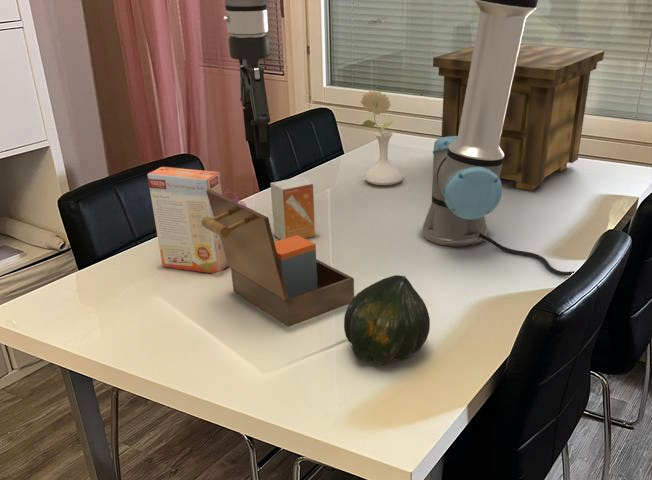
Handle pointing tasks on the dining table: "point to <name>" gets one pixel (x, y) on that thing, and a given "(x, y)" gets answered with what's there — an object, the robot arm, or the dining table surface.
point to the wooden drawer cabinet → (529, 107)
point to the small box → (293, 208)
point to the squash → (387, 321)
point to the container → (297, 265)
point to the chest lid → (246, 242)
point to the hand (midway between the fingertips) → (257, 148)
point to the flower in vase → (380, 142)
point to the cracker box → (186, 219)
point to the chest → (328, 296)
